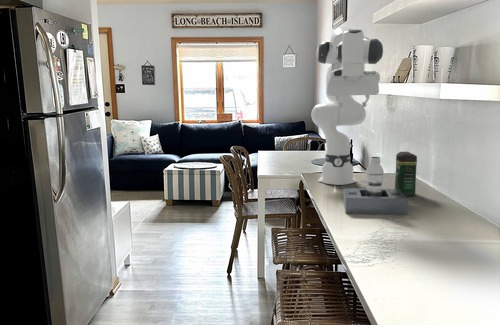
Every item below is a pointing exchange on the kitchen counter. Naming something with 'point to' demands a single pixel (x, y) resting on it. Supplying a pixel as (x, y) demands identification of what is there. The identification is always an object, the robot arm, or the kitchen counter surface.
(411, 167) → the coffee jar
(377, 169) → the silver bottle
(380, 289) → the kitchen counter surface
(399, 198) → the grey slotted block
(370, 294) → the kitchen counter surface
